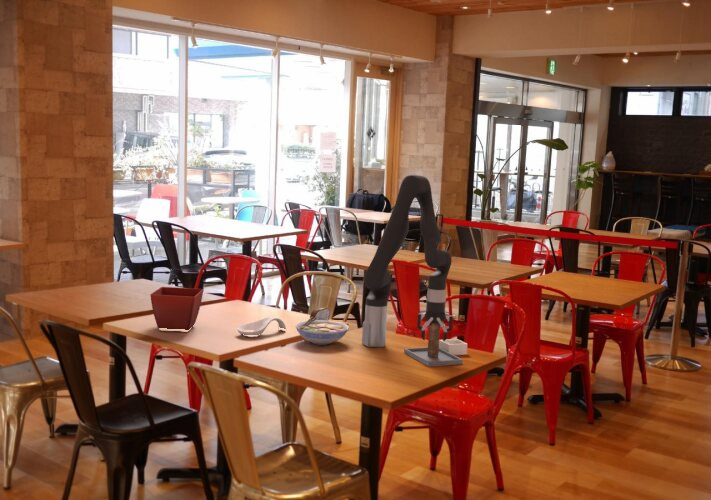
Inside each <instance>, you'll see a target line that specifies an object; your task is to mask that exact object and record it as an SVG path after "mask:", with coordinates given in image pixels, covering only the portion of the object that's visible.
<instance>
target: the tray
mask: <svg viewBox="0 0 711 500" xmlns="http://www.w3.org/2000/svg"><path fill="white" fill-rule="evenodd" d="M403 353H404V355H407V356H409V357H410V358H412V359H415V360H416V361H417V362H420V363H422V364H424V365H425V366H426V367H440V366H441V367H442V366H454V365H456V366H457V365H463V363H464V359H462V358H460V357H459V356H458V355H453V354H451V353H449V352H447V351H445V350H443V349H441V348H439V353H438V358H430V357H428V356H427V355H428V346H427V347H426V346H425V347H413V348H411V347H410V348H404V349H403Z"/></svg>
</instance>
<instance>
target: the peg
mask: <svg viewBox="0 0 711 500" xmlns="http://www.w3.org/2000/svg"><path fill="white" fill-rule="evenodd" d="M440 331H441V326H440V325H439V326H438V323H432V324H431V325H430V324H429V325H428V339H427V340H428V343H427V347H428V355H427V356H428V357H430V358H438V353H439V340H440V336H441V335H440V334H441V332H440Z"/></svg>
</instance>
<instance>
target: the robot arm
mask: <svg viewBox="0 0 711 500" xmlns="http://www.w3.org/2000/svg"><path fill="white" fill-rule="evenodd" d="M432 194H433V193H432V188H431V183H430V181H429V179H428V178H427V177H426V176H423V175H420V174H419V175H417V174H408V175H406V176H404V178H403V179H402V181H401V183H400V186H399V190H398V193H397V197H396V200H395V203H394V206H393V209H392V211H391V213H390V215H389V216H390V217H389V219H388V221H387V222H386V226H385V228H384V231H383V233H382V236H381V239H380V241H379V244H378V246H377V248H376V251H375V253H374V256H373V258H372V259H371V262H370V263H369V265H368V267H367V269H366V271H365V272H364V276H363V283H364V286H365V287H366V288H367V289H368V290H369V292H368V295H367V296H366V297H365V310H364V311H365V312H364V321H363V322H362V331H361V333H362V334H361V344H362V345H364V346H366V347H367V348H368V347H369V348H370V347H371V348H381V347H382V348H383V347H385V346H386V343H387V337H386V336H387V319H388V304H389V303H388V302H389V299H390V296H391V285H392V275H391V273H390V271H389V269H388V268H389V266H390V263H391V262H392V260H393V259H394V257H395V256H396V255H397V253H398V252H399V251H400V249H401V248H402V246H403V244H404V243H405V240H406V239H407V238H406V237H407V235H408V233H409V229H410V218H409V217H410V215H409V214H410V208H411V206H412V203H413V201H414V199H416V200H417V203H418V205H419V210H420V218H419V229H420V233H421V236H422V239H423V243H424V260H425V263H426V265H427V266H428V267H429V268H431V269H435V271H434V272H433V273H431V274H429V276H428V281H427V282H428V284H427V292H426V293H427V294H426V303H425V304H426V308H425V313H421V312H418V314H417V321H416V322H417V323H416V329H417V330H420V331H421V335H420V336H421V339H422V341H425V338H426V329H427V327H429V324H430V325H431V324H432V323H438V326H439V325H440V328H442V330H443V337H442V340H443V341H445V340H446V339H448V332H451V331H452V330H453V315H452V314H451V315H446V302H447V293H446V291H447V290H446V288H447V278H448V277H449V276H448V275H449V272H450V269H451V266H452V255H451V253H450V252H449V250H445V249H438V248H437V246H438V245H440V244H441V243H442V242H443V241H442V235H441V232H440V229H439V225H438V222H437V219H436V215H435V209H434V208H435V207H434V201H433V195H432ZM423 319H425V320H426V321H425V322H424V324H423V325H421V324H422V323H421V322H422V320H423ZM446 320H447V322H448V327H447V326H446V325H445V323H444V321H446Z"/></svg>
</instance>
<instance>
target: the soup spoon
mask: <svg viewBox="0 0 711 500" xmlns="http://www.w3.org/2000/svg"><path fill="white" fill-rule="evenodd" d="M330 315H331V310H330V309H329V308H328V307H325V306H320V307H317V308H314V309H313V310H312V311H311V312H310V315H309V319H310V318H311V317H313V318H312V319H314V318H315V317H317V318H316V319H315V320H323V321H328V320H329V321H330ZM312 319H311V320H312ZM311 320H310V321H311Z"/></svg>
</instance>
